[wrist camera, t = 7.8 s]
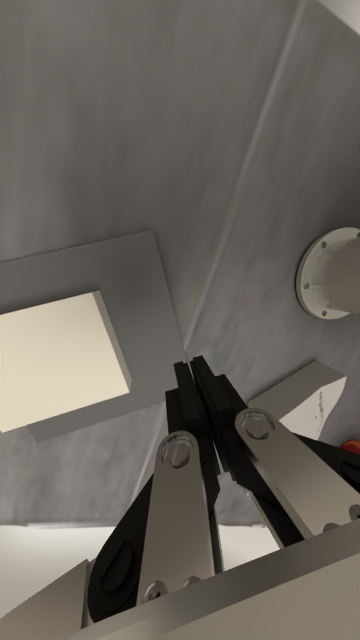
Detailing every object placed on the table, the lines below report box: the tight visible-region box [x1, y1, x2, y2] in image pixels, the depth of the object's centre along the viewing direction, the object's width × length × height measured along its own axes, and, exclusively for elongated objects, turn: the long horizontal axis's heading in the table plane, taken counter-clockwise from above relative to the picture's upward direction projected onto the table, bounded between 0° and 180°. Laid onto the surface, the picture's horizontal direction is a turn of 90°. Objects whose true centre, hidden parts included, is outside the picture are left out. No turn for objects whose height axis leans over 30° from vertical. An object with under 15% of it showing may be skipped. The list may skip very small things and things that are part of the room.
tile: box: [0, 290, 132, 433], centre depth 19 cm, size 3×12×14 cm
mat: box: [0, 230, 187, 443], centre depth 21 cm, size 22×22×1 cm
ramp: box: [242, 360, 347, 496], centre depth 29 cm, size 28×16×5 cm, turn 159°
